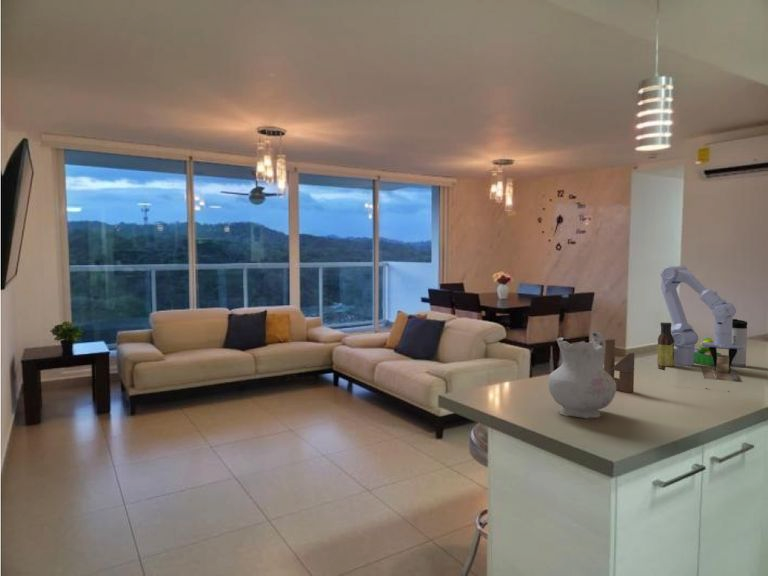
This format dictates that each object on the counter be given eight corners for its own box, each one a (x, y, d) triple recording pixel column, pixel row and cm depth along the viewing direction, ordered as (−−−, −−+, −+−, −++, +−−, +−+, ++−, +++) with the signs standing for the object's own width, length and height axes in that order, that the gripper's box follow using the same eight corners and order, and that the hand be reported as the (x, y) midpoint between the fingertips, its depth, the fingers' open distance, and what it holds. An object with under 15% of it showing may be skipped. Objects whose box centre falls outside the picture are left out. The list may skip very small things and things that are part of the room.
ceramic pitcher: (565, 402, 170) (560, 329, 170) (627, 408, 158) (622, 330, 157) (541, 419, 154) (535, 338, 153) (607, 427, 141) (602, 339, 141)
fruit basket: (685, 361, 227) (686, 337, 226) (697, 359, 230) (698, 335, 230) (710, 366, 216) (711, 341, 216) (723, 364, 220) (724, 339, 219)
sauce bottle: (676, 370, 210) (677, 323, 208) (660, 370, 211) (661, 323, 209) (670, 367, 216) (671, 321, 215) (654, 366, 217) (655, 321, 216)
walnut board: (703, 382, 191) (704, 376, 190) (700, 370, 210) (701, 364, 209) (742, 385, 185) (742, 379, 184) (735, 373, 204) (735, 367, 204)
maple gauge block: (714, 371, 201) (715, 356, 201) (713, 368, 206) (714, 354, 205) (728, 372, 199) (729, 357, 199) (727, 369, 204) (727, 355, 203)
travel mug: (739, 363, 221) (741, 319, 220) (748, 367, 215) (750, 321, 213) (724, 363, 222) (726, 318, 221) (733, 366, 215) (735, 320, 214)
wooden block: (627, 393, 176) (629, 342, 175) (600, 386, 186) (601, 338, 184) (634, 391, 178) (635, 341, 177) (606, 385, 188) (607, 337, 186)
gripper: (702, 333, 202) (701, 366, 202) (746, 336, 194) (745, 370, 195) (701, 331, 208) (700, 363, 209) (744, 333, 200) (743, 366, 201)
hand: (722, 366), depth 202 cm, fingers closed on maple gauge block, 4 cm apart
